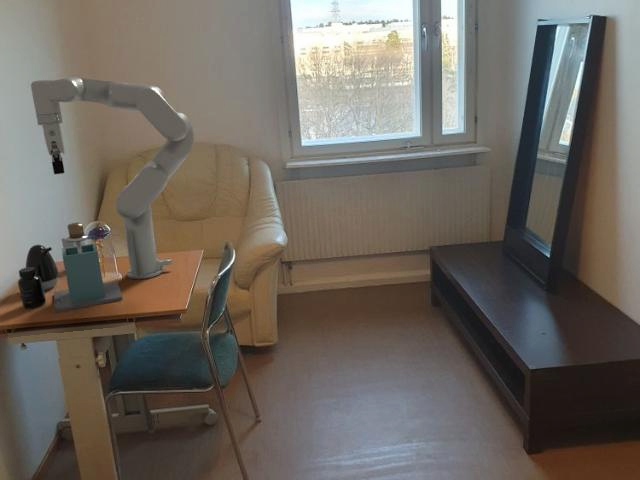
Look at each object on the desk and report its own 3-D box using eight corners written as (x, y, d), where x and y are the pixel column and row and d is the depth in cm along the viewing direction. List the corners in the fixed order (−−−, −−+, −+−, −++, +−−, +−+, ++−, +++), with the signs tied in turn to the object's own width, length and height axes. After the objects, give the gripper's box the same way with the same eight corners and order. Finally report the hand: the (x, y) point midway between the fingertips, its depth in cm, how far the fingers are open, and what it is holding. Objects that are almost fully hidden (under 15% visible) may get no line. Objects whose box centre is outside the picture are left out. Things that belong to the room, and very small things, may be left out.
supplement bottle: (29, 301, 208) (21, 266, 205) (49, 300, 208) (42, 265, 204) (19, 309, 201) (11, 273, 198) (40, 308, 201) (33, 272, 198)
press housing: (117, 283, 219) (110, 238, 215) (122, 299, 204) (114, 251, 199) (54, 294, 212) (45, 248, 208) (55, 312, 197) (45, 262, 193)
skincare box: (88, 267, 238) (82, 236, 235) (78, 271, 235) (72, 239, 231) (76, 265, 241) (70, 234, 238) (66, 269, 238) (60, 238, 234)
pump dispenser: (50, 293, 214) (41, 249, 210) (22, 293, 216) (13, 249, 212) (67, 282, 224) (59, 240, 219) (40, 282, 226) (32, 240, 221)
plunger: (97, 283, 212) (86, 220, 206) (99, 290, 205) (88, 225, 199) (74, 287, 209) (62, 223, 203) (74, 295, 203) (62, 229, 197)
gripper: (62, 120, 203) (72, 173, 208) (61, 116, 219) (70, 166, 223) (36, 122, 200) (47, 177, 205) (37, 118, 216) (47, 169, 221)
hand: (59, 171), depth 214 cm, fingers open, 9 cm apart
